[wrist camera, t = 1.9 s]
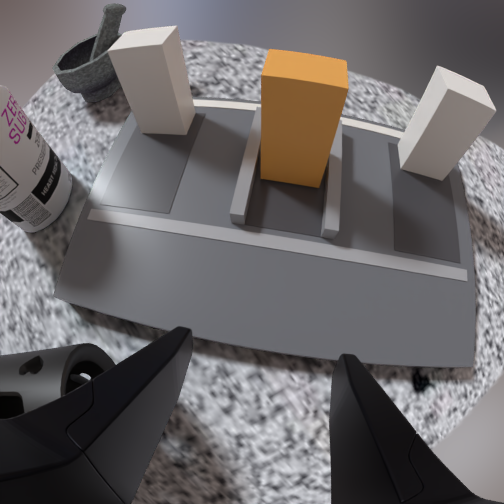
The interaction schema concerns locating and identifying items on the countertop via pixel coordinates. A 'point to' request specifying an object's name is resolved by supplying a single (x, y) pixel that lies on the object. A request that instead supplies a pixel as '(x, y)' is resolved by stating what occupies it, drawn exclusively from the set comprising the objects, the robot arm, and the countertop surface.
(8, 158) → the supplement can
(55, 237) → the countertop surface
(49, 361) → the muzzle brake
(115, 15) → the mortar and pestle
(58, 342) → the countertop surface
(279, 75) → the orange tall block
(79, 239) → the slotted gray tray
